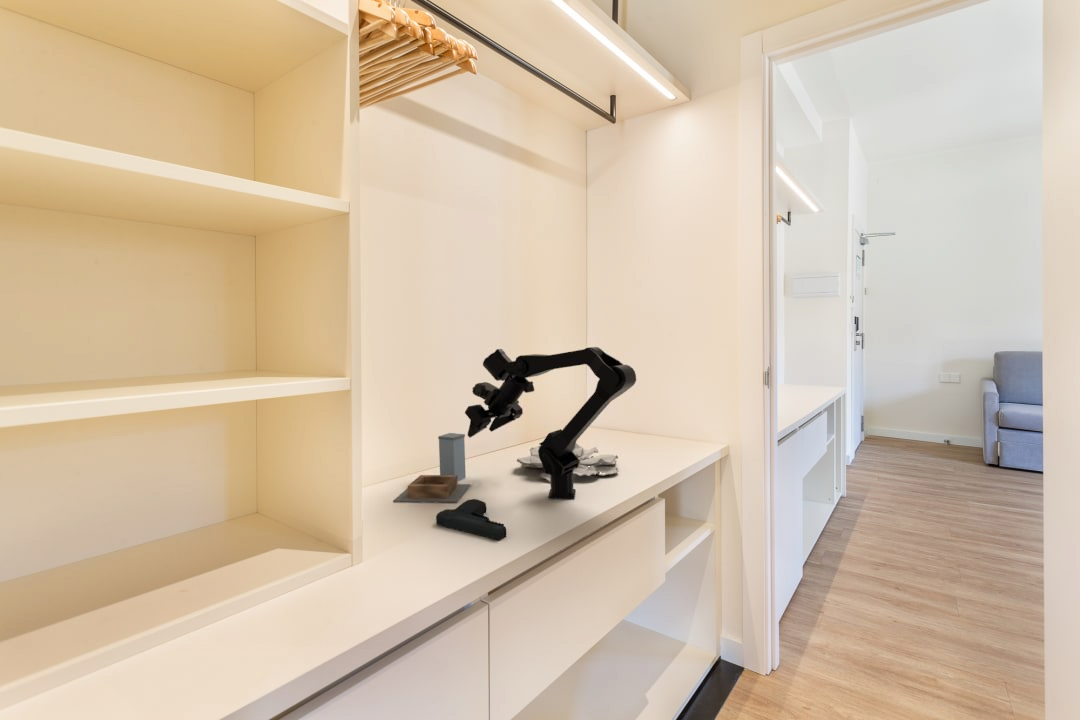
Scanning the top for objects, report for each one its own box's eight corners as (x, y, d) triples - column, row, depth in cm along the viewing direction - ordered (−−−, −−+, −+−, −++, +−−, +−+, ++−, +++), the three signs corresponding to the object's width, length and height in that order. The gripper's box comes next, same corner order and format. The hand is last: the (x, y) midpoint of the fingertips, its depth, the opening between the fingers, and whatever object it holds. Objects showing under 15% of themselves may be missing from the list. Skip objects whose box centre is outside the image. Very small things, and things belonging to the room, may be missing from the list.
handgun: (531, 526, 112) (496, 546, 102) (469, 510, 121) (432, 527, 111) (531, 511, 112) (496, 530, 102) (468, 497, 121) (431, 513, 111)
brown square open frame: (457, 486, 138) (457, 475, 138) (447, 498, 128) (446, 486, 128) (421, 486, 139) (420, 475, 139) (408, 497, 129) (407, 485, 129)
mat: (470, 485, 140) (470, 484, 140) (456, 503, 126) (456, 501, 126) (413, 485, 141) (413, 483, 141) (393, 502, 127) (393, 500, 127)
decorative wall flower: (624, 459, 139) (512, 460, 140) (624, 485, 139) (512, 485, 140) (613, 436, 169) (520, 437, 170) (613, 457, 169) (521, 457, 170)
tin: (466, 478, 147) (464, 434, 146) (454, 483, 142) (453, 437, 142) (451, 476, 149) (449, 432, 149) (439, 480, 145) (438, 436, 144)
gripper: (511, 369, 148) (483, 407, 154) (467, 374, 132) (439, 417, 138) (536, 396, 144) (507, 435, 150) (494, 405, 128) (463, 448, 134)
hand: (479, 433), depth 143 cm, fingers open, 9 cm apart
